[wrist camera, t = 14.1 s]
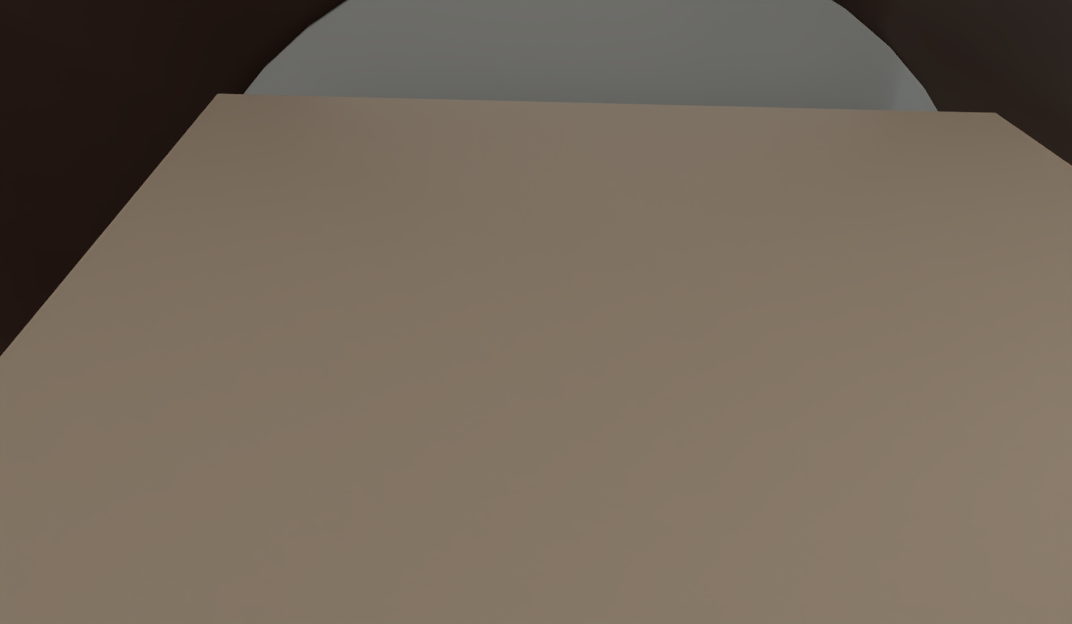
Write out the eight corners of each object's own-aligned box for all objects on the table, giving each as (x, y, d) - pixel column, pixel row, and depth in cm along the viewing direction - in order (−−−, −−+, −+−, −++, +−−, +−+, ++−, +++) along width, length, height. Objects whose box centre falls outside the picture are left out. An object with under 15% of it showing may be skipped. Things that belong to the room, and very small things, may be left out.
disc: (1092, -56, 9) (1104, -52, 9) (867, 608, 14) (871, 618, 14) (92, -90, 9) (84, -87, 8) (234, 615, 14) (231, 625, 14)
